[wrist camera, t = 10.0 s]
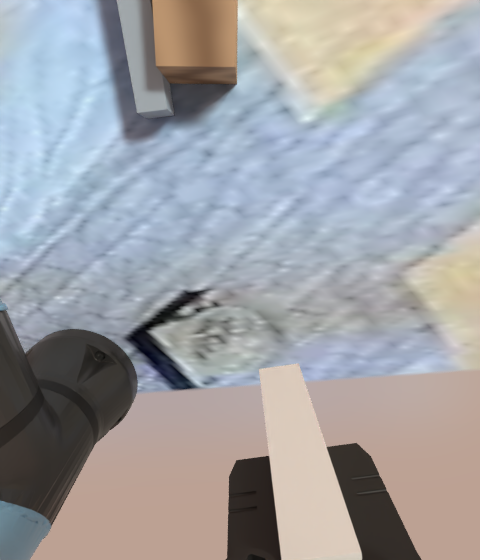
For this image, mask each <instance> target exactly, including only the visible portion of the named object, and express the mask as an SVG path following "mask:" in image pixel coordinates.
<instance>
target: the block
mask: <svg viewBox="0 0 480 560" xmlns="http://www.w3.org/2000/svg"><path fill="white" fill-rule="evenodd" d="M152 4H153V22H154V40H155V58H156V67H157V68H158V69H159V70H160V72H161V73H162V74H163V75H164V77H165V78H166V79H167V80H168V82H169V83H172V84H237V6H238V0H152Z"/></svg>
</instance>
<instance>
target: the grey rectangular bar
mask: <svg viewBox="0 0 480 560" xmlns="http://www.w3.org/2000/svg"><path fill="white" fill-rule="evenodd" d="M117 5H118V11H119V16H120V22H121V27H122V33H123V38H124V44H125V49H126V55H127V60H128V66H129V71H130V77H131V82H132V88H133V93H134V99H135V104H136V110H137V113H138V114H140V115H141V116H143V117H145V118H147V119H150V118H158V117H166V116H174V108H173V102H172V95H171V88H170V83H169V82H168V80H167V79H166V78H165V77H164V75H163V74H162V73H161V72H160V70H159V69H158V68H157V67H156V58H155V40H154V22H153V4H152V0H117Z"/></svg>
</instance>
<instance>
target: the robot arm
mask: <svg viewBox="0 0 480 560" xmlns="http://www.w3.org/2000/svg"><path fill="white" fill-rule="evenodd" d="M7 309H8V308H7V306H6V304H4V303H2V301H1V299H0V560H30V558H31V557H32V555H33V553H34V552H35V550H36V549H37V547H38V546H39V544H40V542H41V540H42V539H44V538H45V536H47V534H48V533H49V531H50V529H51V526H52V524H53V522H54V520H55V518H56V516H57V514H58V513H59V511H60V509H61V507H62V505H63V503H64V501H65V500H66V498H67V495H68V494H69V492H70V490H71V488H72V486H73V485H74V483H75V481H76V478H77V477H78V475H79V473H80V471H81V470H82V468H83V466H84V464H85V462H86V460H87V458H88V456H89V454H90V452H91V451H92V449H93V447H94V445H95V444H96V443H97V442H98V441H99V440H100V439H101V438H102V437H104V435H106V434H107V433H108V431H109V430H111V429H112V428H114V427H115V426H116V425H118V424H119V423H120V422H121V421H122V420H123V418H124V417H125V416H126V414H127V413H128V411H129V409H130V407H131V405H132V403H133V401H134V399H135V396H136V393H137V375H136V372H135V369H134V366H133V364H132V362H131V360H130V359H129V357H128V356H127V355H126V353H125V352H124V351H123V350H122V349H121V348H120V347H119V346H118V345H116V344H115V343H114V342H112V341H111V340H109V339H108V338H106V337H104V336H102V335H99V334H97V333H94V332H91V331H86V330H79V329H68V330H62V331H57V332H54V333H52V334H50V335H48V336H46V337H44V338H43V339H41V340H40V341H39V342H38V343H37V344H35V345H34V346H33V347H32V348H31V349H30V350H29V351H28V352H27V353H26V354H25V353H24V350H23V348H22V346H21V344H20V341H19V339H18V337H17V334H16V332H15V330H14V327H13V325H12V323H11V320H10V318H9V316H8V313H7V311H6V310H7ZM259 374H260V382H261V390H262V398H263V407H264V415H265V424H266V433H267V441H268V450H269V456H266V457H258V458H251V459H243V460H237V461H236V463H235V465H234V467H233V469H232V471H231V474H230V476H229V507H228V510H229V514H228V551H227V559H226V560H421V558H420V556H419V555H418V553H417V552H416V550H415V548H414V545H413V543H412V541H411V539H410V537H409V535H408V533H407V531H406V529H405V527H404V525H403V522H402V520H401V518H400V516H399V514H398V512H397V510H396V508H395V506H394V504H393V502H392V500H391V498H390V496H389V493H388V492H387V491H386V487H385V485H384V483H383V481H382V479H381V477H380V476H379V473H378V471H377V468H376V466H375V464H374V462H373V460H372V458H371V456H370V455H369V454H368V453H366V452H365V451H364V450H363V449H362V448H361V447H360V446H359V445H358V444H357V443H354V444H347V445H339V446H332V447H326V444H325V441H324V438H323V435H322V432H321V429H320V426H319V424H318V420H317V417H316V415H315V411H314V409H313V405H312V402H311V400H310V397H309V393H308V391H307V387H306V385H305V381H304V378H303V375H302V372H301V369H300V367H299V364H291V365H285V366H278V367H271V368H264V369H259Z"/></svg>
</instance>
